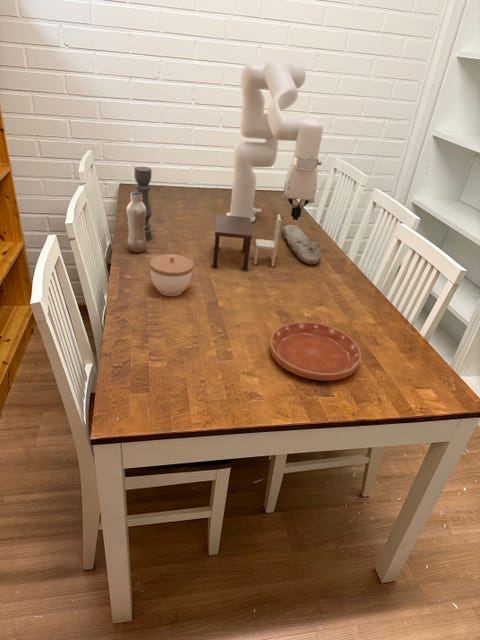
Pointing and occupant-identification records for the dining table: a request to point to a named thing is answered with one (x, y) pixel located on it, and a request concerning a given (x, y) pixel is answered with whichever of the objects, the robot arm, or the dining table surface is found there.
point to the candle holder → (144, 194)
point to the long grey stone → (302, 245)
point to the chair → (269, 242)
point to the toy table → (233, 234)
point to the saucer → (315, 351)
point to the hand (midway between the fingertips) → (295, 218)
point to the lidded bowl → (171, 273)
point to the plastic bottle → (136, 223)
